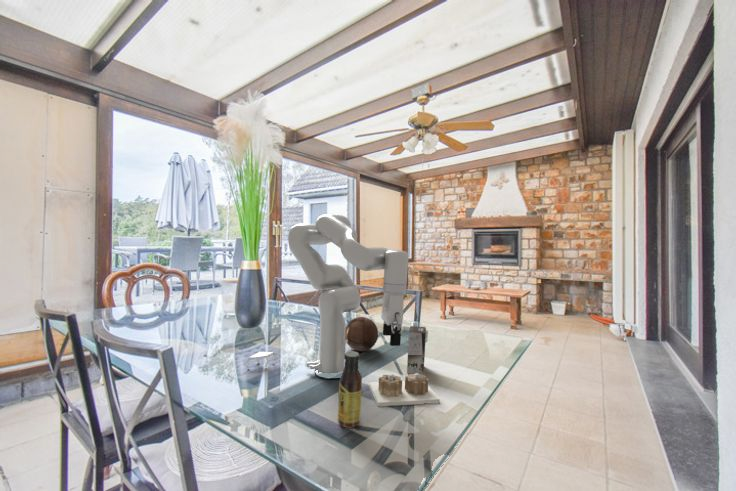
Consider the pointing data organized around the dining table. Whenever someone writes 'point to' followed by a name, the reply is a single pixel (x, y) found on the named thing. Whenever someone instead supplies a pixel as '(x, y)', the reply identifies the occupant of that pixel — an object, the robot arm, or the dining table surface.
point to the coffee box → (416, 350)
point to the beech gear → (390, 386)
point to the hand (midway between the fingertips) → (391, 340)
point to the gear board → (406, 392)
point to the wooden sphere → (361, 333)
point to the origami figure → (261, 355)
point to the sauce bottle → (350, 392)
